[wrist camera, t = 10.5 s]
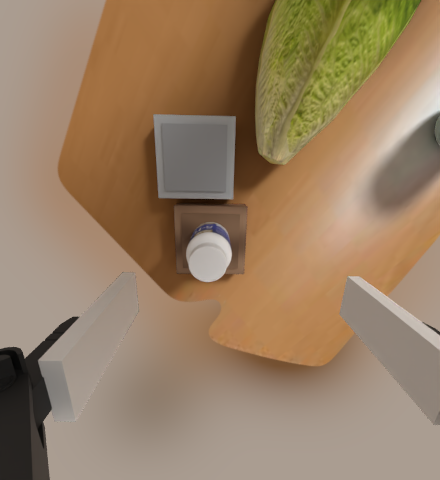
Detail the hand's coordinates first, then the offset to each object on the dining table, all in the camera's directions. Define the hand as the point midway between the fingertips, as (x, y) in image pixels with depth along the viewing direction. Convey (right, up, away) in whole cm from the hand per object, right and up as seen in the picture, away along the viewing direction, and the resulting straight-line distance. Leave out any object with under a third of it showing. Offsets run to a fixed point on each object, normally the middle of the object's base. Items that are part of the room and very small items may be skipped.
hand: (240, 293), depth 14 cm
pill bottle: (-3, +3, +17) cm, 18 cm away
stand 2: (-3, +4, +20) cm, 21 cm away
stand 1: (-4, +15, +17) cm, 23 cm away
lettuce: (+10, +25, +15) cm, 31 cm away
